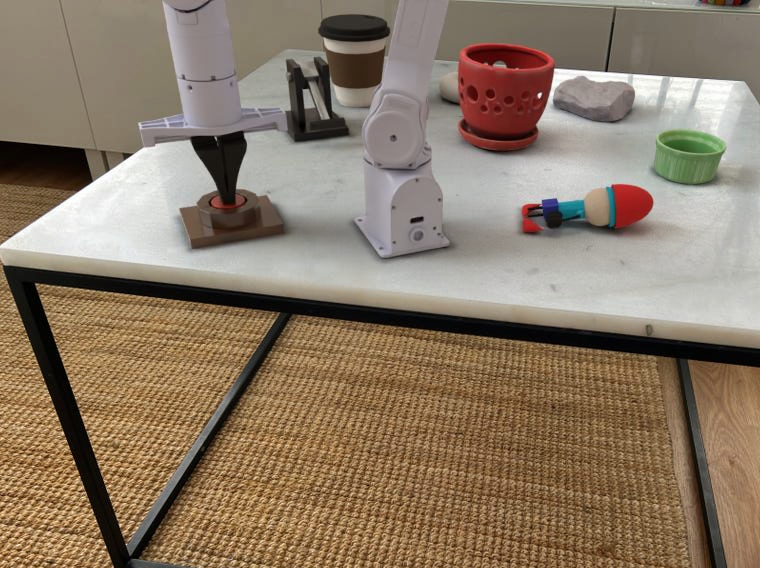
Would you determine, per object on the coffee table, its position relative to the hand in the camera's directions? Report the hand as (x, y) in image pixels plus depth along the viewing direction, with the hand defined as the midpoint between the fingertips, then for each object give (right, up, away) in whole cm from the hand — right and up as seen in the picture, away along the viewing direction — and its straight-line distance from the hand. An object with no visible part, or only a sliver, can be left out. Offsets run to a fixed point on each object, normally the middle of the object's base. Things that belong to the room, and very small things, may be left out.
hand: (227, 200), depth 79 cm
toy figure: (+40, -2, +5) cm, 41 cm away
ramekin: (+56, +8, +18) cm, 59 cm away
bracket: (+4, +17, +27) cm, 32 cm away
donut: (+28, +26, +40) cm, 55 cm away
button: (0, -1, +1) cm, 2 cm away
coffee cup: (+10, +24, +37) cm, 45 cm away
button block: (0, -2, +2) cm, 3 cm away
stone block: (+47, +23, +37) cm, 64 cm away
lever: (+6, +19, +22) cm, 29 cm away
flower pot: (+32, +14, +25) cm, 43 cm away
